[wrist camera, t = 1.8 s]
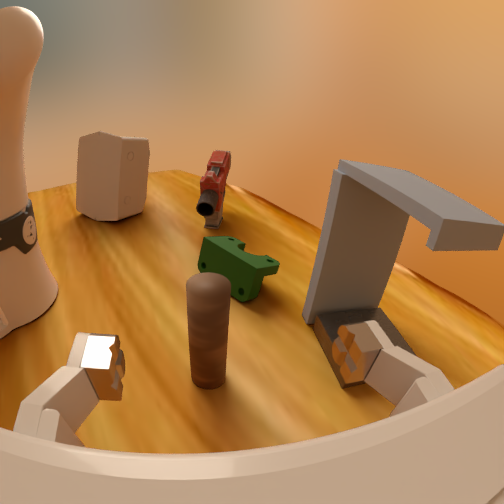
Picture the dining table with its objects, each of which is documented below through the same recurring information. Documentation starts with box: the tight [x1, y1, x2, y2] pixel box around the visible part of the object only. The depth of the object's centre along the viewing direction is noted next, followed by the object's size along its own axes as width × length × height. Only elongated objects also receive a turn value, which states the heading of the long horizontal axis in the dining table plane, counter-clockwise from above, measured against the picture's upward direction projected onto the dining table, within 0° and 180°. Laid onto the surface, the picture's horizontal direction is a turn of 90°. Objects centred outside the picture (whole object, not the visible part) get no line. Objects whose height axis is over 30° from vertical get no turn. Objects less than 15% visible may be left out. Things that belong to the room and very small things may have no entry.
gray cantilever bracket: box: [302, 160, 504, 324], centre depth 29 cm, size 11×16×21 cm
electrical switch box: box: [76, 131, 150, 221], centre depth 63 cm, size 15×15×20 cm
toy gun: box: [196, 150, 231, 229], centre depth 62 cm, size 4×20×15 cm, turn 176°
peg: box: [186, 272, 231, 389], centre depth 26 cm, size 4×4×12 cm
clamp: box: [198, 236, 280, 302], centre depth 45 cm, size 12×6×9 cm, turn 40°
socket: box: [313, 308, 416, 388], centre depth 34 cm, size 10×10×2 cm
